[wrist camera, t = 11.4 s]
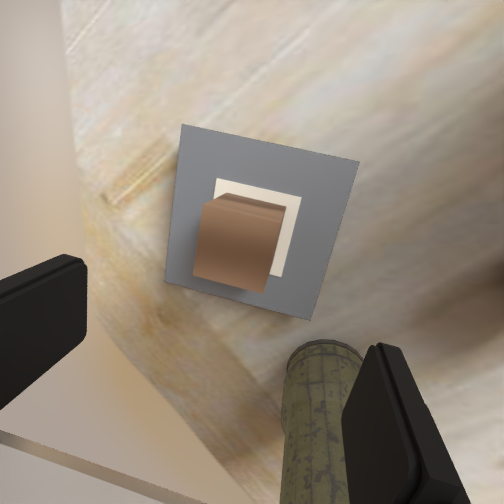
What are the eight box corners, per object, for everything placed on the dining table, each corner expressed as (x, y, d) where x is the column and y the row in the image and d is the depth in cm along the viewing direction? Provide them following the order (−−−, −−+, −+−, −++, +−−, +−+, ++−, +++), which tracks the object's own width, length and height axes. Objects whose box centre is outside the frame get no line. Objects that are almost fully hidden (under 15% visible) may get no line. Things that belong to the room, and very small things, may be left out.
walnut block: (226, 192, 25) (202, 204, 19) (286, 206, 24) (280, 222, 19) (216, 249, 27) (192, 275, 21) (272, 263, 26) (263, 293, 20)
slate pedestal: (198, 127, 28) (180, 123, 24) (352, 160, 26) (360, 161, 22) (180, 266, 32) (163, 282, 29) (309, 300, 31) (310, 322, 27)
